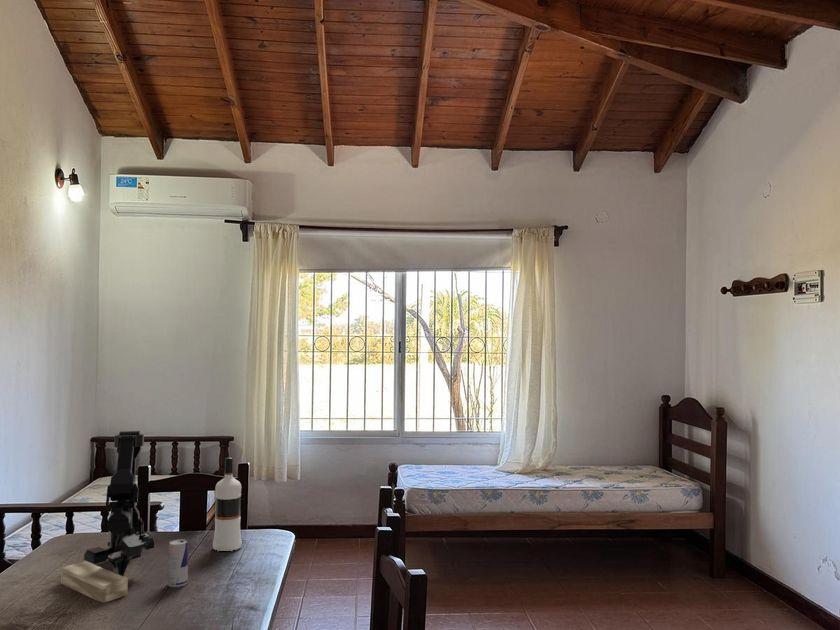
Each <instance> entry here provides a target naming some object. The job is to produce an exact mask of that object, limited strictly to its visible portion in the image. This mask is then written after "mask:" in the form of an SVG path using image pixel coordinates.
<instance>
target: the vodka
mask: <svg viewBox="0 0 840 630" xmlns="http://www.w3.org/2000/svg"><path fill="white" fill-rule="evenodd" d="M233 471H234V457H229V456H227V457H225V458H224V477H223V478H222V479H220V480H219V481H217V483H216V484H215V488H214V490H215V495H214V497H215V511H214V512H215V515H214V526H215V528H214V537H213V541H212V548H213V550H215V551H216V550H217V551H216V552H219V551H231V552H234V551H233V550H235V551H237V550H239V549H240V548H241V547H242V544H243V543H242V542H243V540H242V536H241V519H242V518H241V499H242V498H241V497H242V484H241V482H240V481H239V480H237V479H236V478H235V477H234V473H233Z"/></svg>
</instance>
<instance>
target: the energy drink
mask: <svg viewBox="0 0 840 630" xmlns="http://www.w3.org/2000/svg"><path fill="white" fill-rule="evenodd" d="M167 547H168V550H167V554H168V555H167V586H168V587H170V588H182V587H184V586H186V585H187V584H188V580H189V579H188V577H189V575H188V572H189V571H188V570H189V564H188V563H189V543H188V540H187V539H182V538H179V539H173V540H170V541H169V543H168V545H167ZM181 586H182V587H181Z"/></svg>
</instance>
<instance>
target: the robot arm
mask: <svg viewBox="0 0 840 630" xmlns="http://www.w3.org/2000/svg"><path fill="white" fill-rule="evenodd" d="M144 443H145V433H144V434H143V433H141V431H140V430H126V431H119V433H118V434H116V435H114V444H113V445H114V446H113V447H114V448H116V453H117V454H118V455H117V462H116V463H117V464H116V471H115V473H114V474H113V475H112V476H111V477H110V483H109V484H108V485H107V487H106V488H107V489H106V499H105V509H110V514H109V517H108V519H107V521H106V528H107V532H109V533H110V534H109V535H110V536H109V541H107V547H108V548H102V547H100V546H96V547H94V548H93V547H92V548H88V549H86V551H85V552H84V554H83V561H87V562H89V563H91V564H94V565H96V564H100V563H104V562H106V561H108V562H109V564H110V565H111V566H112V569H113V572H114V573H116V574H118V575H121V576H123V577H125V576H124V575H125V573H126V571H127V567H128V565H129V563H130V561H131V559H134V558H138V557H141V556H142V553H143V549H144V550H147V551H148V550H151V549H155V547H156V540H155V538H154V537H152V536H149V534H147V533H145V532H144V531H145V530H144V527H145V526H144V524H145V523H144V522H143V520H142V518H141V517H140V511H139V510H138V508H137V506H136V503H139V501H138V500H139V487H138V484H137V483H136V471H137V470H136V466H137V457H138V455H139V454H140V452H141V451H142V447H143V446H144Z"/></svg>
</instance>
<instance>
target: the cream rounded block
mask: <svg viewBox="0 0 840 630" xmlns="http://www.w3.org/2000/svg"><path fill="white" fill-rule="evenodd" d="M128 583H129V578H128V577H126V576H121V575H118V574H116V573H115V572H114V571H111V570H108V569H106V568H103V567H101V566H99V565H96V564H93V563H90V562H88V561H86V560H83V561H81V562H77V563H73V564H70V565H65V566H63V567H61V568H60V584H61V585H63V586H65V587H67V588H69V589H71V590H73V591H76V592H78V593H80V594H82V595H84V596H87V597H88V598H91V599H93V600H95V601H97V602H100V603H102V604H104V603H107V602H110V601H113V600H116V599H119V598H122V597H126V596H127V595H128V593H129V592H128Z"/></svg>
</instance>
